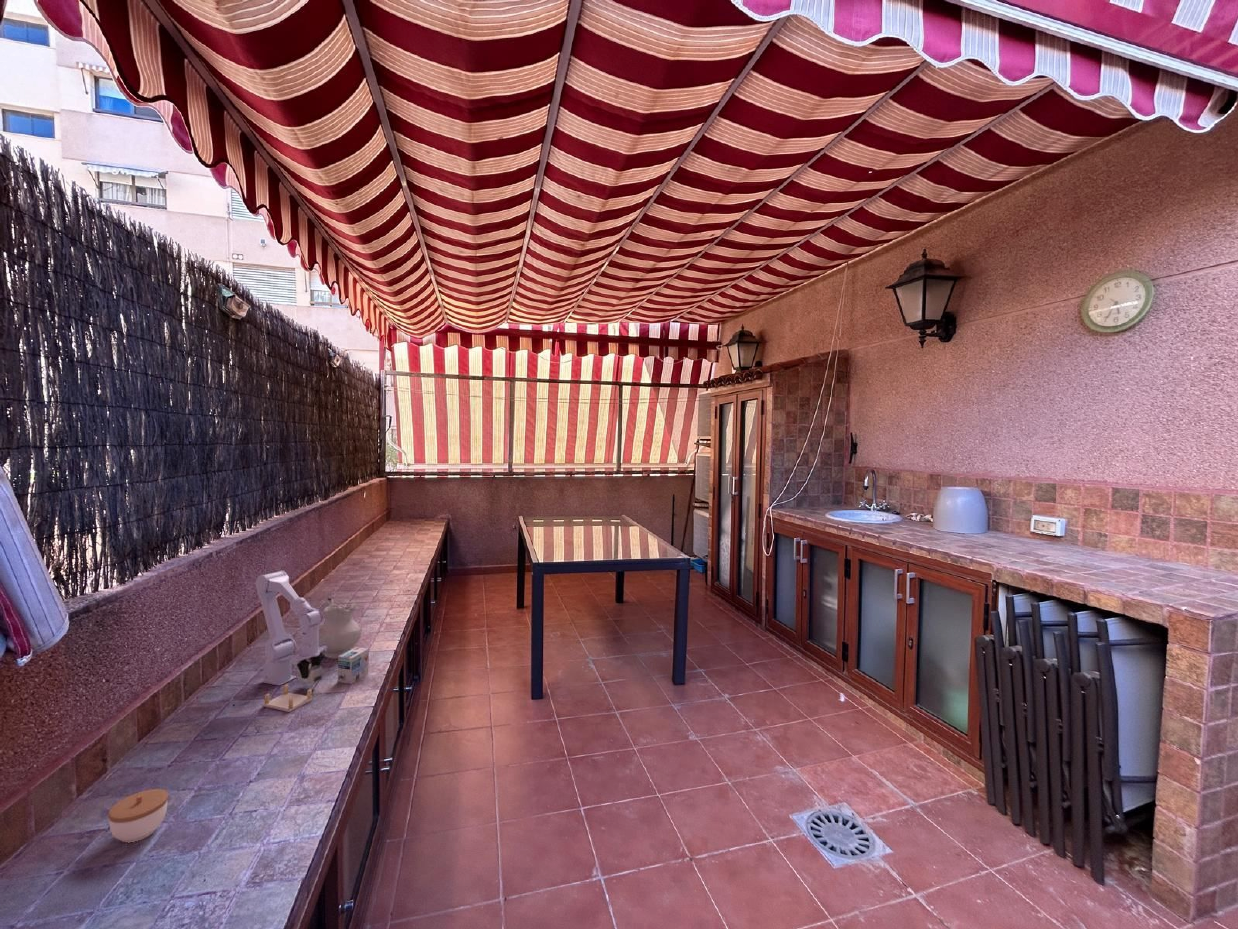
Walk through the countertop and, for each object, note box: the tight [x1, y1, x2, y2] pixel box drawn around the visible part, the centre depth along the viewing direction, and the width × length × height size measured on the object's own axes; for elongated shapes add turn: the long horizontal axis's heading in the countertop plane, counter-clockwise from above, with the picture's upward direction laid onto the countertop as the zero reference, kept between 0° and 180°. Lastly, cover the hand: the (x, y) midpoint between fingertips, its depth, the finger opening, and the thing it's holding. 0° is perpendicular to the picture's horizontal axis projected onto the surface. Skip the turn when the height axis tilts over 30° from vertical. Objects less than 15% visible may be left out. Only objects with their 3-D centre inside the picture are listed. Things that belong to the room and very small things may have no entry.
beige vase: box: [319, 596, 363, 660], centre depth 238 cm, size 22×20×25 cm
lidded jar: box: [108, 788, 169, 844], centre depth 126 cm, size 11×11×9 cm
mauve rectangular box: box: [296, 663, 323, 684], centre depth 204 cm, size 8×4×5 cm, turn 74°
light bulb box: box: [337, 646, 370, 685], centre depth 214 cm, size 11×7×11 cm, turn 168°
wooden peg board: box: [263, 684, 313, 713], centre depth 191 cm, size 13×10×4 cm
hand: (309, 675), depth 204 cm, fingers closed on mauve rectangular box, 4 cm apart
